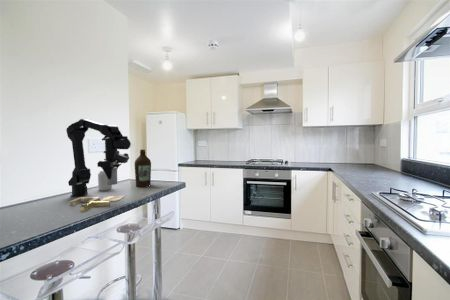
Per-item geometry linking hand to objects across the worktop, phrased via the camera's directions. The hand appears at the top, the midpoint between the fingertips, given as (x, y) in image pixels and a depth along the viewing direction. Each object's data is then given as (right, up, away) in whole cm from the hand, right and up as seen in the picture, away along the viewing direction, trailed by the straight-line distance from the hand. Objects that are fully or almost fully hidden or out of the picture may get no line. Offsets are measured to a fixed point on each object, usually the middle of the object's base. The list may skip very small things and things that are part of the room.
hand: (111, 178), depth 118 cm
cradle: (-9, -12, -7) cm, 16 cm away
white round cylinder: (0, -3, 0) cm, 3 cm away
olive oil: (+4, -10, +34) cm, 35 cm away
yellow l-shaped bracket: (0, -12, -15) cm, 19 cm away
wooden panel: (0, -11, +1) cm, 11 cm away
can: (-16, -10, +23) cm, 30 cm away
